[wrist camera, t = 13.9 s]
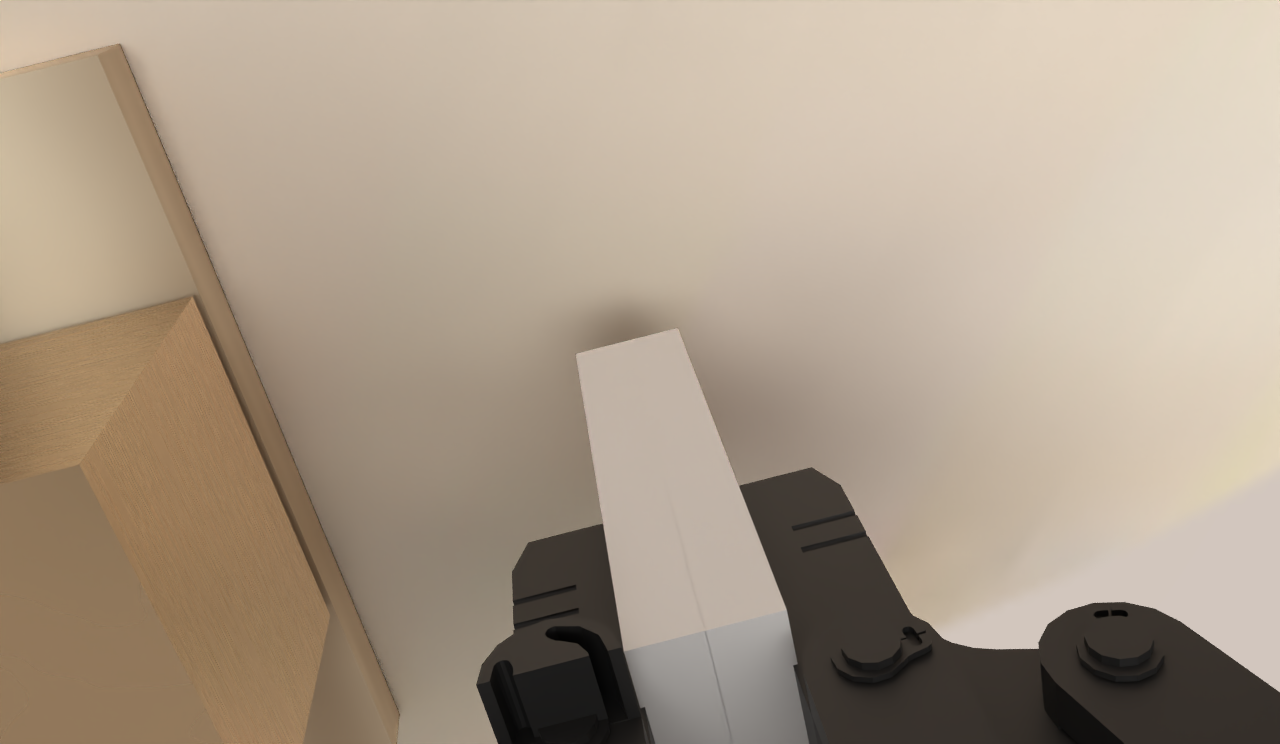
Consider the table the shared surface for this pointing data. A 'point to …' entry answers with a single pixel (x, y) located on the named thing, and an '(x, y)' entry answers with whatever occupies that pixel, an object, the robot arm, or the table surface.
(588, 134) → the table surface
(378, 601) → the table surface
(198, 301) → the press
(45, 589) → the slide jaw
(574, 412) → the table surface
